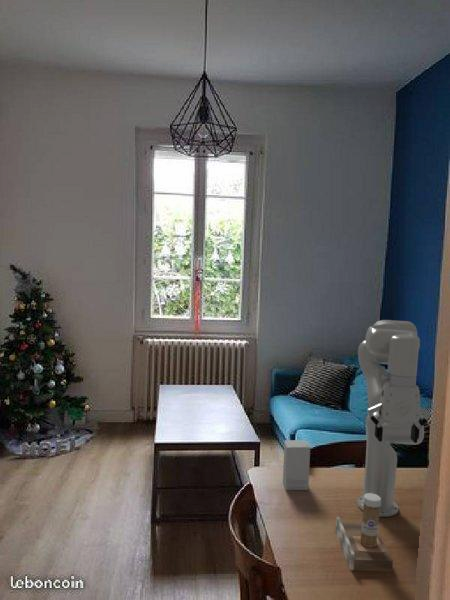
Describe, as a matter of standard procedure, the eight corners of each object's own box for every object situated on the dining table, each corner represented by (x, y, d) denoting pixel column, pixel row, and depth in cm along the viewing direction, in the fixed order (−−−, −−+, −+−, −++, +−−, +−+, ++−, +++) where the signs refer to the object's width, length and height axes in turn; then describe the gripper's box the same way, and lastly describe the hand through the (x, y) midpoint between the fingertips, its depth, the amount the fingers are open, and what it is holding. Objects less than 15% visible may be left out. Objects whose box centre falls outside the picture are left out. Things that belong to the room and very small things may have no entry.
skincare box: (305, 482, 182) (307, 439, 180) (308, 491, 175) (311, 447, 173) (281, 481, 181) (284, 439, 179) (284, 490, 175) (286, 446, 173)
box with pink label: (335, 531, 151) (336, 516, 151) (372, 532, 151) (373, 518, 151) (350, 570, 133) (351, 553, 133) (391, 571, 134) (393, 555, 133)
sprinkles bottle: (363, 548, 138) (367, 501, 136) (357, 538, 142) (361, 492, 141) (379, 548, 138) (384, 500, 137) (373, 538, 143) (377, 492, 141)
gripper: (373, 382, 137) (368, 444, 139) (438, 385, 137) (432, 447, 139) (366, 375, 145) (361, 434, 147) (427, 377, 145) (422, 436, 147)
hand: (396, 440), depth 143 cm, fingers open, 9 cm apart
